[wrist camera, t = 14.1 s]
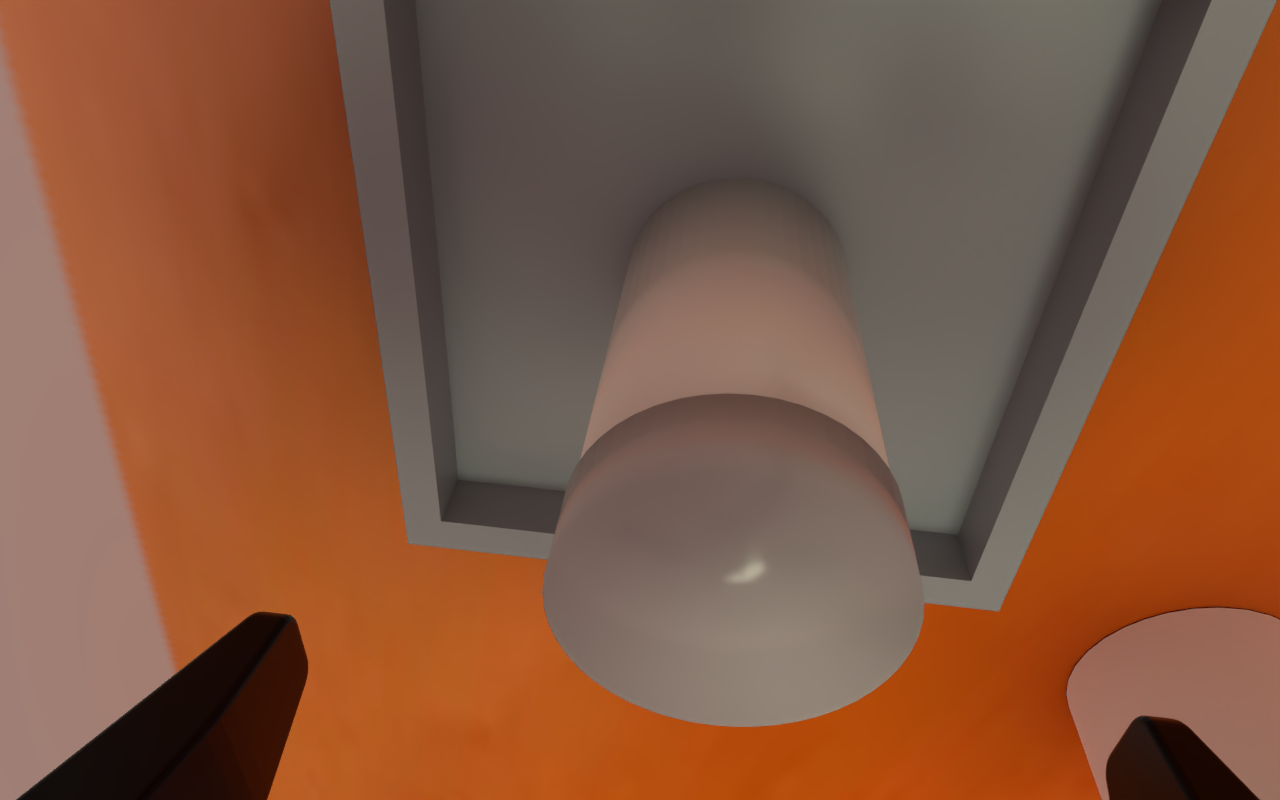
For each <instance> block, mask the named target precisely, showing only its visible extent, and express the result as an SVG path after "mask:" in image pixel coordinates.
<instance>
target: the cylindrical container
mask: <svg viewBox="0 0 1280 800" xmlns="http://www.w3.org/2000/svg"><path fill="white" fill-rule="evenodd" d="M1066 695H1067V700H1068V705H1069V708H1070V711H1071V714H1072V717H1073V719H1074V722H1075V725H1076V728H1077V731H1078V734H1079V736H1080V739H1081V742H1082V745H1083V748H1084V751H1085V753H1086V756H1087V759H1088V762H1089V765H1090V767H1091V770H1092V773H1093V776H1094V779H1095V782H1096V784H1097V787H1098V790H1099V793H1100V796H1101V799H1102V800H1109V794H1108V789H1107V783H1106V764H1107V760H1108V757H1109V755H1110V754H1111V752H1112V751H1113V749H1114V748H1115V746H1116V745H1117V743H1118V742H1119V740H1120V739H1121V737H1122V736H1123V734H1124V733H1125V731H1126V730H1127V728H1128V727H1129V725H1130V724H1131V722H1132V721H1133V720H1134V719H1135V718H1137V717H1139V716H1143V715H1145V716H1154V717H1163V718H1171V719H1175V720H1179V721H1181V722H1183V723H1184V724H1185V725H1187V726H1188V727H1189V728H1190V729H1191V730H1192V731H1193V732H1194V733H1195V734H1196V735H1197V736H1198V737H1199V738H1200V739H1201V740H1202V741H1203V742H1204V743H1205V744H1206V745H1207V746H1208V747H1209V748H1210V749H1211V750H1212V751H1213V752H1214V753H1215V754H1216V755H1217V756H1218V757H1219V758H1220V759H1221V760H1222V761H1223V762H1224V763H1225V764H1226V765H1227V766H1228V767H1229V768H1230V769H1231V771H1232V772H1233V773H1234V774H1235V775H1236V776H1237V777H1238V778H1239V779H1240V780H1241V781H1242V782H1243V783H1244V784H1245V785H1246V786H1247V787H1248V788H1249V789H1250V790H1251V791H1252V792H1253V793H1254V794H1255V795H1256V796H1257V797H1258V798H1259V799H1260V800H1280V620H1279V619H1277V618H1275V617H1273V616H1270V615H1267V614H1262V613H1258V612H1254V611H1250V610H1244V609H1232V608H1199V609H1189V610H1183V611H1177V612H1170V613H1166V614H1162V615H1159V616H1155V617H1151V618H1148V619H1144V620H1142V621H1139V622H1137V623H1134V624H1132V625H1129V626H1127V627H1124V628H1122V629H1121V630H1119V631H1117V632H1115V633H1113V634H1112V635H1110V636H1108V637H1106V638H1104V639H1103V640H1102V641H1100V642H1099V643H1098V644H1097V645H1095V646H1094V647H1093V648H1091V649H1090V650H1089V651H1088V652H1087V653H1086V654H1085V655H1084V656H1083V657H1082V659H1081V660H1080V661H1079V662H1078V663H1077V664H1076V665H1075V667H1074V669H1073V671H1072V673H1071V675H1070V677H1069V679H1068V685H1067V692H1066Z"/></svg>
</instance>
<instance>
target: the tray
mask: <svg viewBox="0 0 1280 800" xmlns="http://www.w3.org/2000/svg"><path fill="white" fill-rule="evenodd" d="M1276 1H1277V0H330V7H331V14H332V21H333V28H334V35H335V42H336V49H337V56H338V63H339V69H340V76H341V83H342V90H343V97H344V104H345V111H346V118H347V125H348V132H349V139H350V146H351V153H352V159H353V166H354V173H355V180H356V187H357V194H358V201H359V208H360V215H361V222H362V229H363V236H364V243H365V249H366V256H367V263H368V270H369V277H370V284H371V291H372V298H373V305H374V312H375V319H376V326H377V333H378V340H379V346H380V353H381V360H382V367H383V374H384V381H385V388H386V395H387V402H388V409H389V416H390V423H391V430H392V436H393V443H394V450H395V457H396V464H397V471H398V478H399V485H400V492H401V499H402V506H403V513H404V520H405V526H406V533H407V540H408V544H416V545H424V546H433V547H442V548H451V549H459V550H468V551H477V552H485V553H494V554H503V555H512V556H520V557H529V558H538V559H547V560H548V558H549V554H550V550H551V546H552V542H553V538H554V534H555V530H556V526H557V523H558V519H559V515H560V511H561V507H562V503H563V499H564V496H565V492H566V488H567V485H568V481H569V479H570V477H571V475H572V473H573V471H574V469H575V467H576V465H577V464H578V462H579V461H580V458H581V454H582V450H583V446H584V442H585V438H586V434H587V430H588V426H589V422H590V418H591V414H592V410H593V406H594V402H595V397H596V393H597V389H598V385H599V381H600V377H601V373H602V369H603V365H604V361H605V357H606V353H607V349H608V345H609V341H610V337H611V333H612V329H613V325H614V321H615V317H616V313H617V309H618V305H619V301H620V297H621V293H622V289H623V284H624V280H625V276H626V272H627V268H628V264H629V260H630V257H631V253H632V249H633V246H634V244H635V242H636V240H637V237H638V235H639V233H640V232H641V230H642V229H643V227H644V225H645V224H646V223H647V221H648V220H649V219H650V218H651V217H652V215H653V214H654V213H655V212H656V211H657V210H658V209H660V208H661V207H662V206H663V205H664V204H665V203H666V202H668V201H669V200H671V199H672V198H674V197H675V196H677V195H678V194H680V193H682V192H684V191H686V190H688V189H690V188H693V187H696V186H698V185H701V184H704V183H708V182H712V181H717V180H724V179H753V180H760V181H765V182H769V183H772V184H776V185H779V186H782V187H784V188H786V189H788V190H791V191H793V192H795V193H796V194H798V195H800V196H801V197H803V198H804V199H806V200H807V201H808V202H810V203H811V204H812V205H813V206H815V207H816V208H817V209H818V210H819V211H820V212H821V213H822V215H823V216H824V217H825V218H826V219H827V220H828V222H829V223H830V225H831V226H832V228H833V229H834V231H835V233H836V235H837V237H838V239H839V241H840V244H841V247H842V250H843V253H844V257H845V262H846V267H847V271H848V276H849V281H850V286H851V290H852V295H853V300H854V304H855V309H856V314H857V319H858V323H859V328H860V333H861V337H862V342H863V347H864V352H865V356H866V361H867V366H868V370H869V375H870V380H871V385H872V389H873V394H874V399H875V403H876V408H877V413H878V418H879V422H880V427H881V432H882V436H883V441H884V446H885V451H886V455H887V460H888V465H889V469H890V471H891V473H892V474H893V476H894V478H895V480H896V482H897V484H898V486H899V489H900V492H901V495H902V498H903V501H904V506H905V510H906V515H907V519H908V524H909V528H910V533H911V537H912V542H913V546H914V551H915V555H916V560H917V564H918V569H919V573H920V578H921V582H922V588H923V595H924V603H931V604H939V605H948V606H957V607H966V608H974V609H983V610H992V611H999V610H1000V607H1001V605H1002V603H1003V601H1004V599H1005V597H1006V594H1007V592H1008V590H1009V588H1010V586H1011V583H1012V581H1013V579H1014V577H1015V575H1016V572H1017V570H1018V568H1019V566H1020V564H1021V561H1022V559H1023V557H1024V555H1025V553H1026V550H1027V548H1028V546H1029V544H1030V542H1031V539H1032V537H1033V535H1034V533H1035V531H1036V528H1037V526H1038V524H1039V522H1040V520H1041V517H1042V515H1043V513H1044V511H1045V509H1046V506H1047V504H1048V502H1049V500H1050V498H1051V495H1052V493H1053V491H1054V489H1055V487H1056V484H1057V482H1058V480H1059V478H1060V476H1061V473H1062V471H1063V469H1064V467H1065V465H1066V462H1067V460H1068V458H1069V456H1070V454H1071V451H1072V449H1073V447H1074V445H1075V443H1076V440H1077V438H1078V436H1079V434H1080V432H1081V429H1082V427H1083V425H1084V423H1085V421H1086V418H1087V416H1088V414H1089V412H1090V410H1091V407H1092V405H1093V403H1094V401H1095V399H1096V396H1097V394H1098V392H1099V390H1100V388H1101V386H1102V383H1103V381H1104V379H1105V377H1106V375H1107V372H1108V370H1109V368H1110V366H1111V364H1112V361H1113V359H1114V357H1115V355H1116V353H1117V350H1118V348H1119V346H1120V344H1121V342H1122V339H1123V337H1124V335H1125V333H1126V331H1127V328H1128V326H1129V324H1130V322H1131V320H1132V317H1133V315H1134V313H1135V311H1136V309H1137V306H1138V304H1139V302H1140V300H1141V298H1142V295H1143V293H1144V291H1145V289H1146V287H1147V284H1148V282H1149V280H1150V278H1151V276H1152V273H1153V271H1154V269H1155V267H1156V265H1157V262H1158V260H1159V258H1160V256H1161V254H1162V251H1163V249H1164V247H1165V245H1166V243H1167V240H1168V238H1169V236H1170V234H1171V232H1172V229H1173V227H1174V225H1175V223H1176V221H1177V218H1178V216H1179V214H1180V212H1181V210H1182V207H1183V205H1184V203H1185V201H1186V199H1187V196H1188V194H1189V192H1190V190H1191V188H1192V186H1193V183H1194V181H1195V179H1196V177H1197V175H1198V172H1199V170H1200V168H1201V166H1202V164H1203V161H1204V159H1205V157H1206V155H1207V153H1208V150H1209V148H1210V146H1211V144H1212V142H1213V139H1214V137H1215V135H1216V133H1217V131H1218V128H1219V126H1220V124H1221V122H1222V120H1223V117H1224V115H1225V113H1226V111H1227V109H1228V106H1229V104H1230V102H1231V100H1232V98H1233V95H1234V93H1235V91H1236V89H1237V87H1238V84H1239V82H1240V80H1241V78H1242V76H1243V73H1244V71H1245V69H1246V67H1247V65H1248V62H1249V60H1250V58H1251V56H1252V54H1253V51H1254V49H1255V47H1256V45H1257V43H1258V40H1259V38H1260V36H1261V34H1262V32H1263V29H1264V27H1265V25H1266V23H1267V21H1268V18H1269V16H1270V14H1271V12H1272V10H1273V7H1274V5H1275V3H1276Z"/></svg>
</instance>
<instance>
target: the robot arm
mask: <svg viewBox="0 0 1280 800" xmlns="http://www.w3.org/2000/svg"><path fill="white" fill-rule="evenodd" d="M307 675H308V659H307V656H306V652H305V649H304V645H303V642H302V638H301V635H300V631H299V628H298V624H297V622H296V620H295V619H294V618H293V617H292V616H291V615H288V614H279V613H271V612H257V613H254V614H252V615H250V616H249V617H247V618H246V619H245V620H243V621H242V622H241V623H240V624H238V625H237V626H236V627H234V628H233V629H232V630H231V631H229V632H228V633H227V634H226V635H224V636H223V637H222V638H220V639H219V640H218V641H217V642H215V643H214V644H213V645H212V646H210V647H209V648H208V649H207V650H205V651H204V652H203V653H201V654H200V655H199V656H198V657H196V658H195V659H194V660H193V661H191V662H190V663H189V664H188V665H186V666H185V667H184V668H182V669H181V670H180V671H179V672H177V673H176V674H175V675H174V676H172V677H171V678H170V679H169V680H167V681H166V682H165V683H163V684H162V685H161V686H160V687H158V688H157V689H156V690H155V691H153V692H152V693H151V694H150V695H148V696H147V697H146V698H144V699H143V700H142V701H141V702H139V703H138V704H137V705H136V706H134V707H133V708H132V709H131V710H129V711H128V712H127V713H125V714H124V715H123V716H122V717H120V718H119V719H118V720H117V721H115V722H114V723H113V724H111V725H110V726H109V727H108V728H106V729H105V730H104V731H103V732H101V733H100V734H99V735H98V736H96V737H95V738H94V739H93V740H91V741H90V742H89V743H87V744H86V745H85V746H84V747H82V748H81V749H80V750H79V751H77V752H76V753H75V754H73V755H72V756H71V757H70V758H68V759H67V760H66V761H65V762H63V763H62V764H61V765H59V766H58V767H57V768H56V769H54V770H53V771H52V772H51V773H49V774H48V775H47V776H46V777H44V778H43V779H42V780H40V781H39V782H38V783H37V784H35V785H34V786H33V787H32V788H30V789H29V790H28V791H27V792H25V793H24V794H23V795H21V796H20V797H19V798H18V799H17V800H267V798H268V795H269V793H270V790H271V786H272V783H273V780H274V777H275V774H276V771H277V768H278V765H279V762H280V759H281V756H282V753H283V750H284V747H285V744H286V741H287V738H288V735H289V732H290V729H291V726H292V723H293V720H294V717H295V714H296V711H297V708H298V705H299V702H300V699H301V696H302V693H303V690H304V687H305V683H306V680H307ZM1106 783H1107V789H1108V794H1109V800H1260V799H1259V798H1258V797H1257V796H1256V795H1255V794H1254V793H1253V792H1252V791H1251V790H1250V789H1249V788H1248V787H1247V786H1246V785H1245V784H1244V783H1243V782H1242V781H1241V780H1240V779H1239V778H1238V777H1237V776H1236V775H1235V774H1234V773H1233V772H1232V771H1231V769H1230V768H1229V767H1228V766H1227V765H1226V764H1225V763H1224V762H1223V761H1222V760H1221V759H1220V758H1219V757H1218V756H1217V755H1216V754H1215V753H1214V752H1213V751H1212V750H1211V749H1210V748H1209V747H1208V746H1207V745H1206V744H1205V743H1204V742H1203V741H1202V740H1201V739H1200V738H1199V737H1198V736H1197V735H1196V734H1195V733H1194V732H1193V731H1192V730H1191V729H1190V728H1189V727H1188V726H1187V725H1185V724H1184V723H1183V722H1181V721H1179V720H1175V719H1171V718H1163V717H1154V716H1145V715H1143V716H1139V717H1137V718H1135V719H1134V720H1133V721H1132V722H1131V724H1130V725H1129V727H1128V728H1127V730H1126V731H1125V733H1124V734H1123V736H1122V737H1121V739H1120V740H1119V742H1118V743H1117V745H1116V746H1115V748H1114V749H1113V751H1112V752H1111V754H1110V755H1109V757H1108V760H1107V764H1106Z"/></svg>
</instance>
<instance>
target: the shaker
mask: <svg viewBox="0 0 1280 800" xmlns="http://www.w3.org/2000/svg"><path fill="white" fill-rule="evenodd" d="M542 593H543V602H544V610H545V613H546V616H547V620H548V623H549V626H550V628H551V630H552V632H553V634H554V636H555V638H556V640H557V642H558V643H559V644H560V646H561V647H562V649H563V650H564V652H565V653H566V654H567V656H568V657H569V658H570V659H571V660H572V661H573V662H574V663H575V664H576V665H577V666H578V668H579V669H581V670H582V671H583V672H584V673H585V674H586V675H588V676H589V677H590V678H591V679H592V680H594V681H595V682H596V683H598V684H599V685H601V686H602V687H604V688H605V689H607V690H608V691H610V692H612V693H613V694H615V695H617V696H619V697H621V698H622V699H624V700H626V701H628V702H631V703H633V704H635V705H637V706H640V707H642V708H644V709H647V710H650V711H653V712H656V713H659V714H662V715H665V716H668V717H672V718H676V719H681V720H685V721H689V722H695V723H702V724H708V725H718V726H730V727H755V726H769V725H779V724H785V723H792V722H797V721H801V720H806V719H810V718H814V717H818V716H821V715H823V714H826V713H829V712H832V711H835V710H838V709H840V708H842V707H844V706H846V705H849V704H851V703H853V702H855V701H857V700H859V699H860V698H862V697H864V696H865V695H867V694H869V693H870V692H872V691H873V690H875V689H876V688H877V687H879V686H880V685H881V684H882V683H884V682H885V681H886V680H888V679H889V678H890V677H891V676H892V675H893V674H894V673H895V672H896V670H897V669H898V668H899V667H900V666H901V665H902V664H903V662H904V661H905V659H906V658H907V657H908V655H909V654H910V653H911V651H912V649H913V647H914V645H915V643H916V641H917V639H918V637H919V633H920V629H921V626H922V622H923V615H924V595H923V588H922V582H921V578H920V573H919V569H918V564H917V560H916V555H915V551H914V546H913V542H912V537H911V533H910V528H909V524H908V519H907V515H906V510H905V506H904V501H903V498H902V495H901V492H900V489H899V486H898V484H897V482H896V480H895V478H894V476H893V474H892V473H891V471H890V469H889V465H888V460H887V455H886V451H885V446H884V441H883V436H882V432H881V427H880V422H879V418H878V413H877V408H876V403H875V399H874V394H873V389H872V385H871V380H870V375H869V370H868V366H867V361H866V356H865V352H864V347H863V342H862V337H861V333H860V328H859V323H858V319H857V314H856V309H855V304H854V300H853V295H852V290H851V286H850V281H849V276H848V271H847V267H846V262H845V257H844V253H843V250H842V247H841V244H840V241H839V239H838V237H837V235H836V233H835V231H834V229H833V228H832V226H831V225H830V223H829V222H828V220H827V219H826V218H825V217H824V216H823V215H822V213H821V212H820V211H819V210H818V209H817V208H816V207H815V206H813V205H812V204H811V203H810V202H808V201H807V200H806V199H804V198H803V197H801V196H800V195H798V194H796V193H795V192H793V191H791V190H788V189H786V188H784V187H782V186H779V185H776V184H772V183H769V182H765V181H760V180H753V179H724V180H717V181H712V182H708V183H704V184H701V185H698V186H696V187H693V188H690V189H688V190H686V191H684V192H682V193H680V194H678V195H677V196H675V197H674V198H672V199H671V200H669V201H668V202H666V203H665V204H664V205H663V206H662V207H661V208H660V209H658V210H657V211H656V212H655V213H654V214H653V215H652V217H651V218H650V219H649V220H648V221H647V223H646V224H645V225H644V227H643V229H642V230H641V232H640V233H639V235H638V237H637V240H636V242H635V244H634V246H633V249H632V253H631V257H630V260H629V264H628V268H627V272H626V276H625V280H624V284H623V289H622V293H621V297H620V301H619V305H618V309H617V313H616V317H615V321H614V325H613V329H612V333H611V337H610V341H609V345H608V349H607V353H606V357H605V361H604V365H603V369H602V373H601V377H600V381H599V385H598V389H597V393H596V397H595V402H594V406H593V410H592V414H591V418H590V422H589V426H588V430H587V434H586V438H585V442H584V446H583V450H582V454H581V458H580V461H579V462H578V464H577V465H576V467H575V469H574V471H573V473H572V475H571V477H570V479H569V481H568V485H567V488H566V492H565V496H564V499H563V503H562V507H561V511H560V515H559V519H558V523H557V526H556V530H555V534H554V538H553V542H552V546H551V550H550V554H549V558H548V561H547V565H546V569H545V573H544V580H543V592H542Z"/></svg>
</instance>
